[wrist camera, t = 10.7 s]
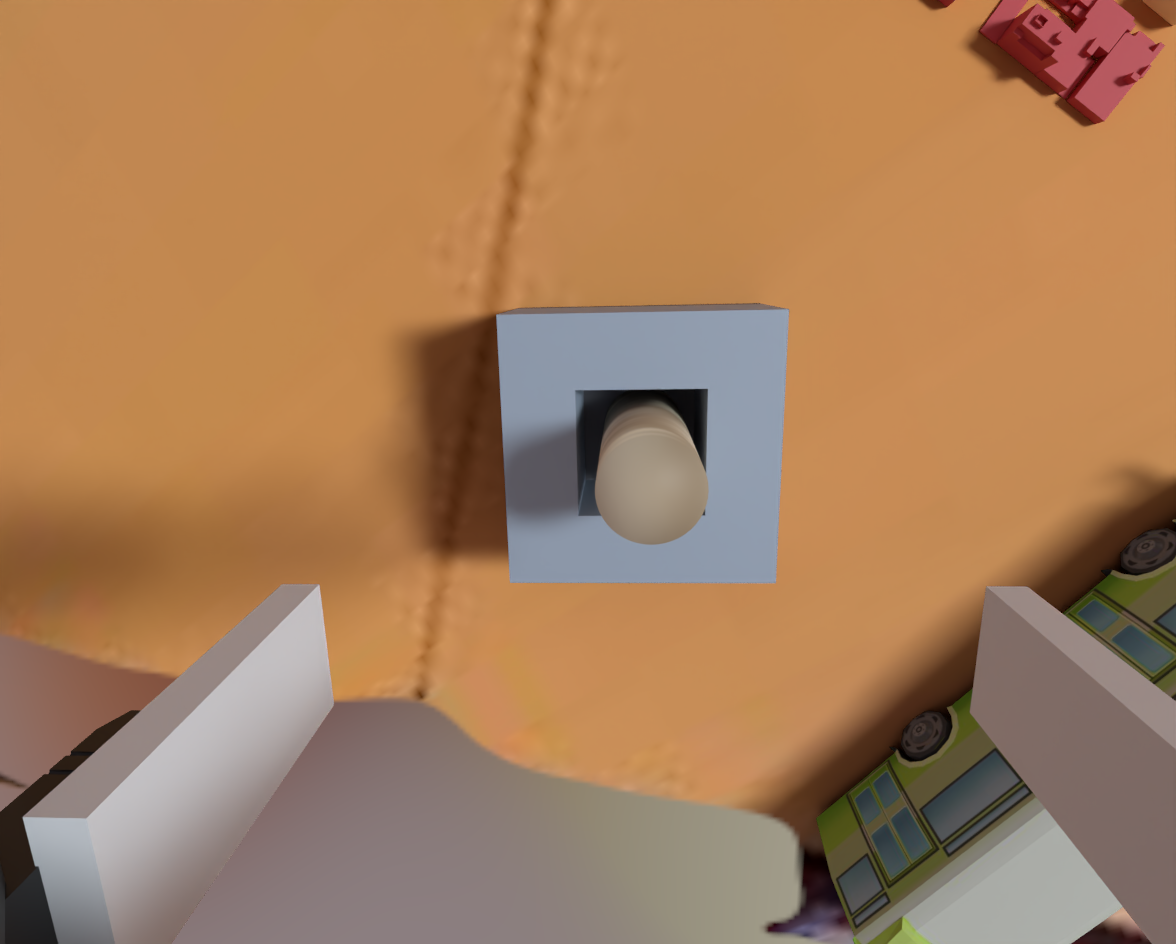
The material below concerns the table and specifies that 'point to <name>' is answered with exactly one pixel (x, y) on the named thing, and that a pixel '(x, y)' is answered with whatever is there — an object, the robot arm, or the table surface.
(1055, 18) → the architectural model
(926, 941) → the toy bus
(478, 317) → the table surface
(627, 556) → the socket block
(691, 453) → the peg
